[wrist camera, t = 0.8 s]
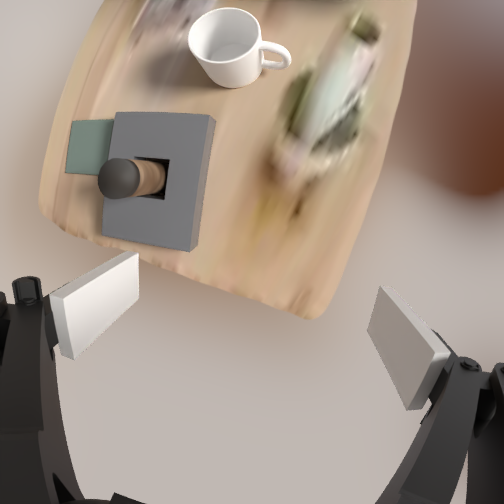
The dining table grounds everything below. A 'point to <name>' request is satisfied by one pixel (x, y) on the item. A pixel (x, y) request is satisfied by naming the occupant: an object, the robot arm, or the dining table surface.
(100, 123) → the mat
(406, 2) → the dining table surface
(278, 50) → the cup
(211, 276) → the dining table surface
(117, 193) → the plug
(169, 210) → the socket block
